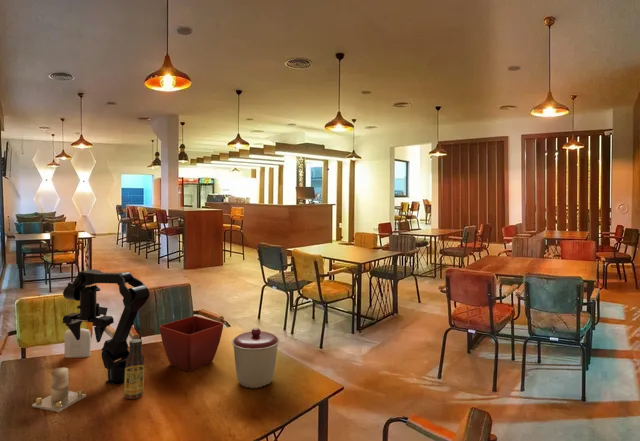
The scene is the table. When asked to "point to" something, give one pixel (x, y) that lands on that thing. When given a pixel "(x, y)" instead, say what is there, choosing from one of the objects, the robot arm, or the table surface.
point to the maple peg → (59, 385)
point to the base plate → (64, 404)
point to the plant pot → (191, 341)
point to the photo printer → (78, 344)
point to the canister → (255, 357)
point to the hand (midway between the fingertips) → (88, 341)
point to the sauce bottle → (134, 371)
